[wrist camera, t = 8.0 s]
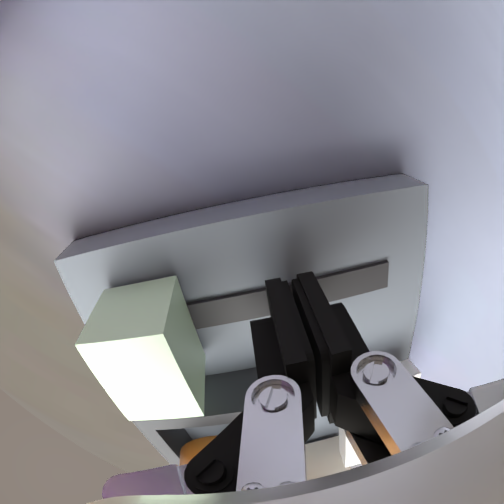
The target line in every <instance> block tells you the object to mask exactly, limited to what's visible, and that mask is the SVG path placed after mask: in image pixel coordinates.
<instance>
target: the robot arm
mask: <svg viewBox="0 0 504 504" xmlns="http://www.w3.org/2000/svg"><path fill="white" fill-rule="evenodd" d="M291 283H292V291H293V295H292V292H291V290H290V287H289V284H288V282H287V280H286V281H281V278H280V277H279V278H274V279H269V280H265V287H266V292H267V298H268V304H269V310H270V316H271V317H269V318H264V319H259V320H253V321H250V327H251V334H252V341H253V348H254V355H255V363H256V370H257V377H258V380H257V381H255V382H254V383H253V384H251V386H250V387H249V388H248V390H247V392H246V396H245V403H244V410H243V411H242V412H241V413H240V414H239V415H238V416H237V417H236V418H235V419H234V420H233V421H232V422H231V423H230V424H229V425H228V426H227V427H226V428H225V429H224V430H223V431H222V432H221V433H219V434H218V435H217V436H216V437H215V438H214V439H213V440H212V441H211V442H210V443H209V444H208V445H207V446H205V447H204V448H203V449H202V450H201V451H200V452H199V453H198V454H197V455H195V456H194V457H193V458H192V459H191V460H190V462H189V463H188V464H185V465H180V466H178V465H177V464H172V465H168V466H163V467H158V468H153V469H148V470H143V471H137V472H131V473H125V474H118V475H115V476H112V477H111V478H110V479H108V480H107V481H106V483H105V485H104V487H103V493H102V496H103V499H100V500H96V501H93V502H90V503H86V504H504V379H501V380H498V381H494V382H491V383H487V384H484V385H480V386H477V387H473V388H470V390H469V392H465V391H463V390H460V389H457V388H453V387H449V386H446V385H442V384H438V383H435V382H431V381H428V380H424V379H421V378H417V377H414V376H412V375H411V374H410V373H409V372H408V371H407V370H406V368H405V367H404V366H403V365H402V364H401V363H400V361H399V360H398V359H397V358H396V357H394V356H393V355H391V354H389V353H387V352H382V351H369V349H368V347H367V346H366V344H365V342H364V340H363V338H362V336H361V335H360V333H359V331H358V329H357V327H356V326H355V324H354V322H353V320H352V318H351V317H350V315H349V313H348V311H347V310H346V308H345V306H344V305H343V303H341V302H340V303H335V304H331V305H330V304H329V302H328V300H327V298H326V296H325V294H324V292H323V290H322V288H321V286H320V284H319V283H318V281H317V279H316V277H315V275H314V273H313V272H312V271H310V272H305V273H300V274H297V275H296V279H292V280H291ZM316 402H317V405H318V409H319V412H320V415H321V417H324V416H327V418H328V421H329V424H332V423H334V424H335V426H337V427H339V428H342V429H344V431H345V434H346V437H347V439H348V440H349V442H350V444H351V446H352V448H353V449H354V451H355V453H356V455H357V457H358V458H359V460H360V462H361V464H362V465H363V466H360V467H356V468H353V469H350V470H346V471H343V472H339V473H336V474H332V475H328V476H324V477H320V478H315V479H311V480H307V475H306V451H305V443H306V442H307V440H308V439H309V438H310V437H311V435H312V434H313V433H314V431H315V419H316V418H317V405H316Z"/></svg>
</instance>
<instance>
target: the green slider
mask: <svg viewBox="0 0 504 504" xmlns="http://www.w3.org/2000/svg"><path fill="white" fill-rule="evenodd" d="M75 346H76V348H77V349H78V351H79V352H80V354H81V356H82V357H83V359H84V360H85V362H86V363H87V365H88V366H89V368H90V369H91V371H92V372H93V374H94V375H95V377H96V378H97V379H98V381H99V382H100V384H101V385H102V386H103V388H104V389H105V391H106V392H107V393H108V395H109V396H110V397H111V399H112V400H113V401H114V403H115V404H116V405H117V407H118V408H119V409H120V410H121V412H122V413H123V414H124V415H125V417H126V418H127V419H128V420H129V421H142V420H163V419H178V418H189V417H199V416H204V398H205V356H206V355H205V353H204V350H203V347H202V345H201V342H200V340H199V337H198V334H197V332H196V329H195V326H194V324H193V321H192V318H191V316H190V313H189V310H188V307H187V304H186V302H185V299H184V296H183V293H182V290H181V287H180V284H179V281H178V278H177V276H170V277H165V278H160V279H155V280H150V281H145V282H140V283H135V284H130V285H125V286H120V287H114V288H109V289H104V291H103V292H102V294H101V296H100V298H99V299H98V301H97V303H96V305H95V307H94V309H93V310H92V312H91V314H90V316H89V318H88V320H87V322H86V324H85V326H84V328H83V329H82V331H81V333H80V335H79V337H78V339H77V341H76V343H75Z"/></svg>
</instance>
